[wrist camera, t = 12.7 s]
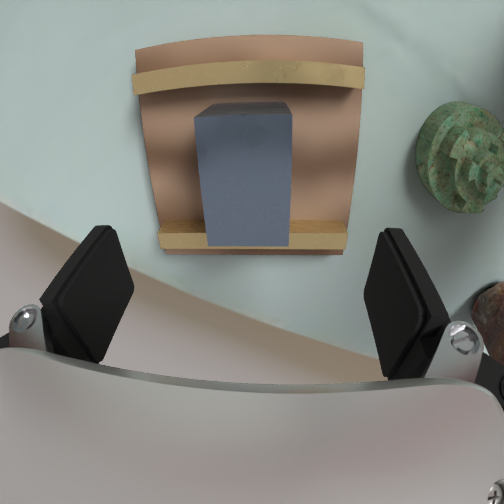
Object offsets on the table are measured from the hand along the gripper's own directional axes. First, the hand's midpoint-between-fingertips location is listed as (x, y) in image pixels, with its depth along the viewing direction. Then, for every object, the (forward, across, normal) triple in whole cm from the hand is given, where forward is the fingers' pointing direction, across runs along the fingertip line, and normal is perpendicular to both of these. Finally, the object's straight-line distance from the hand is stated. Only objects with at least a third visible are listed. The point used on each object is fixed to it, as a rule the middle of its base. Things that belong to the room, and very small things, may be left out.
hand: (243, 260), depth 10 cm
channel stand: (+15, +1, 0) cm, 15 cm away
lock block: (+13, +1, 0) cm, 13 cm away
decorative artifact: (+16, -18, -1) cm, 24 cm away
